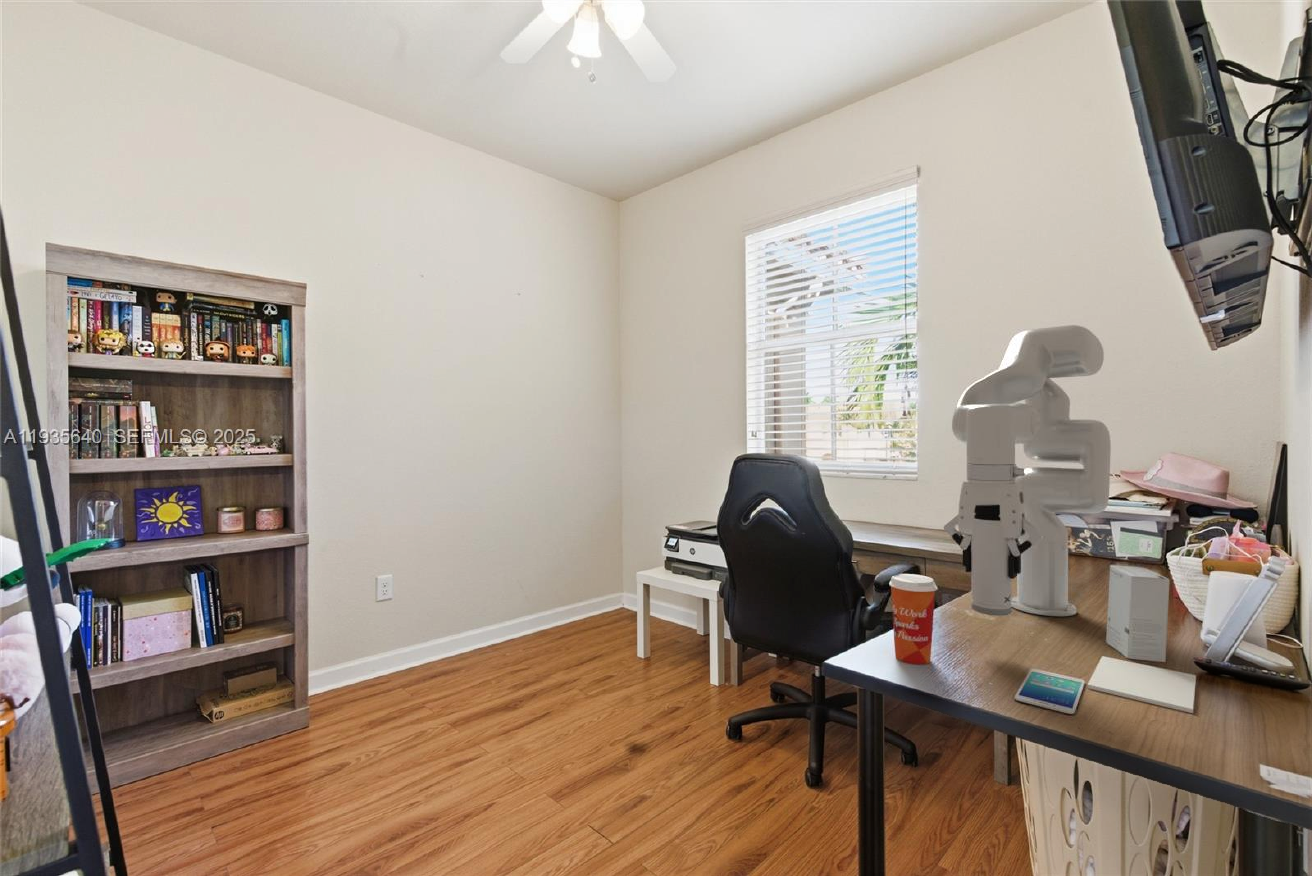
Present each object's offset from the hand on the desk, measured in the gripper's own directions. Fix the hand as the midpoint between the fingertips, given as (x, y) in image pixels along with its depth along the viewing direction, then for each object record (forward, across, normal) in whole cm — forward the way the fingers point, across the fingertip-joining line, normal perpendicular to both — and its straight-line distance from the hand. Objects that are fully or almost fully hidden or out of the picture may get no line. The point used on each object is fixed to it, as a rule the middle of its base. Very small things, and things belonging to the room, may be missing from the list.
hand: (991, 573), depth 106 cm
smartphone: (+14, -11, +12) cm, 22 cm away
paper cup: (+14, +9, +13) cm, 21 cm away
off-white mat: (+14, -21, -1) cm, 25 cm away
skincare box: (+15, -19, -17) cm, 29 cm away
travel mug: (+7, 0, 0) cm, 7 cm away
